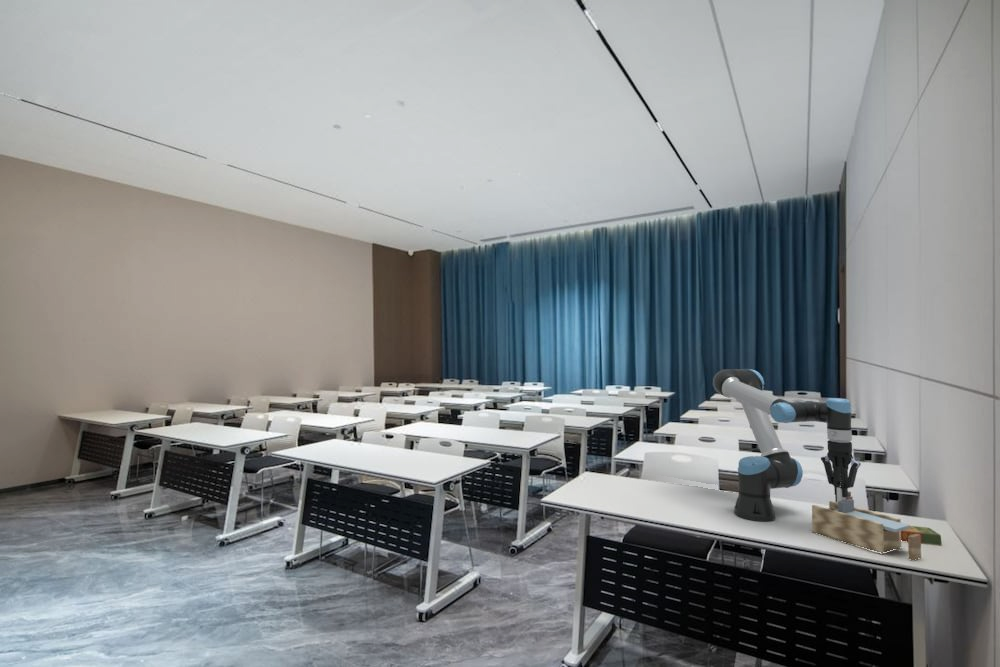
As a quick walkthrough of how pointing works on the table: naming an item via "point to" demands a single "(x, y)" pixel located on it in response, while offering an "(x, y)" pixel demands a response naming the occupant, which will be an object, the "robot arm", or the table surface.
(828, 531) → the wooden box
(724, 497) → the table surface
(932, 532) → the carton
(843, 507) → the lid
